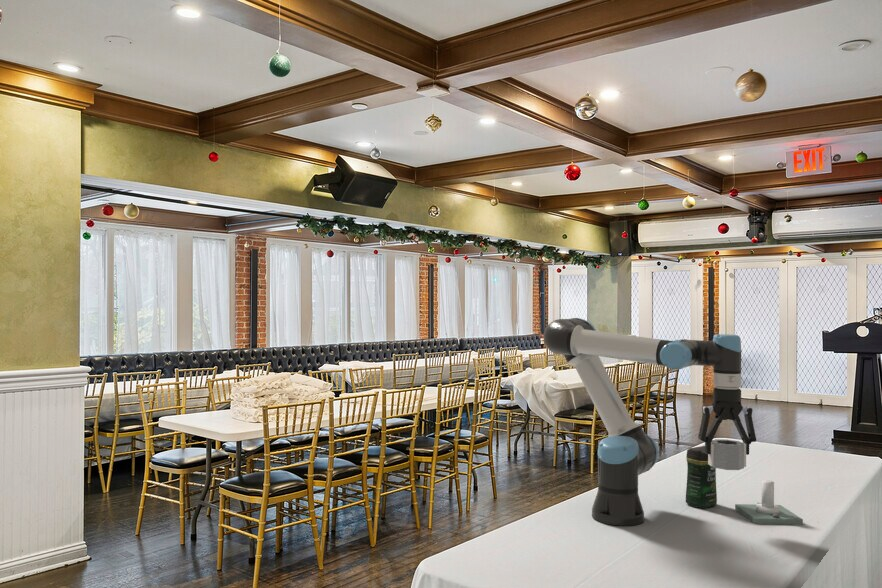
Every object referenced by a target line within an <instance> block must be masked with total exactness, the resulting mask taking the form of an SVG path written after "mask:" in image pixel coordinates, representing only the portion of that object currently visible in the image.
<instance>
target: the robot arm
mask: <svg viewBox="0 0 882 588" xmlns="http://www.w3.org/2000/svg"><path fill="white" fill-rule="evenodd" d="M543 341H544V345H545V347H546V348H547V349H548V350H549V351H551V353H553V354H556V355H560V356H561V355H562V356H563V357H564V359H565V360H566V363H567V364H568V365H570V366H573V367H574V368H575V371H576V372H577V374H578V376H579V378H580V380H581V382H582V383H583V386H584V388H585V390H586V391H587V394H588V395H589V398H590V400H591V402H592V403H593V405H594V407H595V409H596V412H597V413H598V415H599V417H600V419H601V421H602V423H603V424H604V427H605V428H606V431H607V432H608V435H607V436H606V437H604V438H602V439H601V440H600V441H599V443H598V446H597V447H598V448H597V483H598V484H597V493H596V495H595V498H594V501H593V504H592V507H591V517H592V519H594V520H595V521H597V522H600V523H603V524H607V525H613V526H620V527H621V526H624V527H625V526H636V525H640V524H642V523H644V521H645V511H644V509H643V504H642V501H641V499H640V496H639V476H640V475H642V474H644V473H646V472H648V471H650V470H652V468H653V467H654V466H655V464H656V463H657V461H658V458H659V447H658V445H657V443H656V440H654V439H653V438H652V437H651V436H650V435H648V434H646V433H645V431H644V429H643V427H642V425H641V424H639V423H636V422H634V420H633V419H632V416H631V415H630V413H629V411H628V409H627V408H626V405H625V404H624V402H623V399H622V398H621V396H620V394H619V392H618V390H617V388H616V386H615V384H614V382H613V380H612V379H611V376H610V374H609V373H608V371H607V369H606V368H605V365H604V364H603V362H602V360H601V358H600V357H604V358H611V359H617V360H623V361H630V362H637V363H643V364H651V365H655V366H657V365H658V366H662V367H666V368H668V369H670V370H682V369H684V368H688V367H692V366H699V367H700V366H703V367H704V366H707V367H712V368H713V369H712V371H713V372H712V373H713V379H712V380H713V381H712V385H713V390H712V397H713V398H712V400H713V401H712V405H710V406H705V405H703V406H702V408H701V410H702V417H701V422H700V427H699V430H698V431H699V432H698V440H700V441H702V442H704V446H705V453H706V454H708V464H709V465H710V466H714V444H713V443H712V440H714V438H715V437H716V436H715V435H716V433H717V431H718V429H719V427H720V425H721V423H722V422H723V421H727V420H729V421H732V422H733V423H734V426H735V428H736V430H737V432H738V434H739V436H740V439H741V440H742V443H743V444H744V468H747V456H749V455H750V445H751V444H752V443H755V442H757V436H756V431H755V426H754V420H753V417H752V416H753V408H752V407H749V406H743V404H742V390H741V389H740V388H741V387H742V352H743V350H742V341H741V337H740V335H737V334H726V333H725V334H722V333H721V334H720V333H719V334H717V333H716V334H714V335H713V338H712V340H699V339H698V340H696V339H684V338H683V339H674V340H667V339H658V338H652V337H644V336H636V335H628V334H623V333H616V332H615V333H614V332H606V331H598V330H597V329H596V328H595V327H594V325H593V324H592V323H591V322H590V321H588V320H586V319H584V318H579V317H573V318H572V317H571V318H559V319H555V320H553V321H551V322H550V323H549V324H547V326H546V327H545V329H544V333H543ZM712 412H714V417H713V419H712V422H711V425H710V426H709V423H710V418H711V414H712ZM741 412H742V414H743V417H744V421H745V427H746V430H745V427H744V426H743V423H742V421H741V417H740V416H739V415H740V414H741ZM708 427H709V429H708ZM746 431H747V432H746Z"/></svg>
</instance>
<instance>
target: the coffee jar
mask: <svg viewBox="0 0 882 588" xmlns="http://www.w3.org/2000/svg"><path fill="white" fill-rule="evenodd" d="M685 460H686V465H687V466H686V467H687V469H686V470H687V475H686V490H685V503H686V504H687V505H689V506H691V507H693V508H697V507H698V508H702V509H705V508H706V509H707V508H711V507H714V506H716V505H717V504H718V497H717V496H718V495H717V494H718V493H717V474H716V473H717V468H714V467H713V466H710V465H709V464H708V454H706V453H705V445H702V446H696V447H695V446H694V447H690V448H689V449H687V450H686V459H685Z"/></svg>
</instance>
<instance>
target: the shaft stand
mask: <svg viewBox="0 0 882 588" xmlns="http://www.w3.org/2000/svg"><path fill="white" fill-rule="evenodd" d="M734 508H735V509H734V510H736V511H737V512H738V513H740V514H741V515H742V516H744V517H745V518H746V519H748V520H749V521H750V522H751V523H753V524H754V525H755V524H756V525H757V524H759V525H763V524H764V525H803V524H804V519H803V518H802V517H800V516H799V515H797V514H796V513H794V512H792V511H790V510H789V509H787V508H786V507H784V506H783V505H781V504H775V482H774V481H773V480H768V479H765V480H761V502H757V503H756V504H754V503H753V504H749V503H748V504H747V503H746V504H744V503H741V504H738V503H735V504H734Z"/></svg>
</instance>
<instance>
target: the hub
mask: <svg viewBox="0 0 882 588" xmlns="http://www.w3.org/2000/svg"><path fill="white" fill-rule="evenodd" d="M742 442H743V441H742ZM742 442H741V441H739V440H733V439H722V438H721V439H716V438H715V439H713V440H712V443H713V444H714V466H713V467H714V468H716V469H719V470H725V471H740V470H744V469H745V467H744V444H743V443H742Z"/></svg>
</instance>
